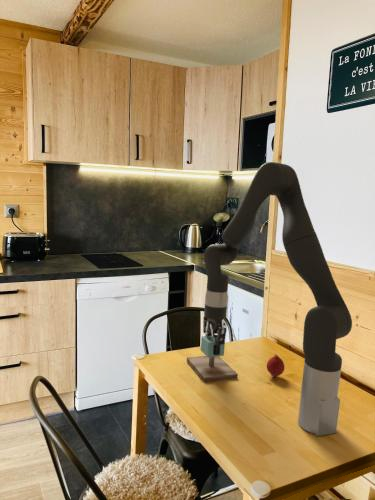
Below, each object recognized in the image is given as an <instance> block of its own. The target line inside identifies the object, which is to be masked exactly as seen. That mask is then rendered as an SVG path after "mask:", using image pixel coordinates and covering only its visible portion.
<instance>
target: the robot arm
mask: <svg viewBox="0 0 375 500" xmlns="http://www.w3.org/2000/svg"><path fill="white" fill-rule="evenodd" d="M270 196H274V197H276V198H277V201H278V203H279V206H280V208H281V210H282V215H283V225H282V233H281V234H282V240H281V241H282V244H283V248H284V250H285V254H286V256H287V258H288V262H289V264H290V265H291V267H292V268H293V269H294V271H295V272H296V274H298V276H299V277H300V278H301V279H302V280H303V281H304V282H305V283H306V285H307V286H308V288H309V289H310V291H311V294H312V295H313V298H314V300H315V303H316V306H314V307H312V308H311V309H309V310H308V312H307V313H306V315H305V318H304V322H303V335H302V336H303V339H302V351H303V355H304V361H303V362H304V363H303V370H302V371H303V372H302V378H301V379H302V380H301V390H300V399H299V400H300V401H299V407H298V409H299V410H298V418H297V423H298V425H299V426H300V428H302V429H303V430H305V431H306V432H308V433H311V434H314V436H316V437H321V436H325V435H330V434H331V435H332V434H336V433H337V429H338V420H339V412H340V407H341V406H340V404H341V399H340V398H339V390H340V389H339V388H340V379H341V371H342V364H343V358H342V356H341V354H339V353H337V352H336V348H337V346H336V345H337V340H338V339H341V338H344V337H347V336H348V334H350V332H351V331H352V328H353V319H352V316H351V313H350V311H349V309H348V307H347V304H346V302H345V300H344V298H343V297H342V295H341V293H340V290H339V288H338V286H337V284H336V282H335V280H334V277H333V275H332V272H331V270H330V267H329V264H328V262H327V259H326V257H325V254H324V251H323V248H322V246H321V242H320V240H319V237H318V235H317V233H316V231H315V229H314V225H313V223H312V220H311V217H310V215H309V214H310V213H309V211H308V209H307V207H306V204H305V201H304V197H303V193H302V189H301V185H300V181H299V177H298V175H297V173H296V171H295V169H294V168H293V167H292V166H291V165H289V164H285V163H280V162H274V161H268V162H265V163H262V165H261V166H260V167H258V170H257V171H256V172H255V175H254V176H253V178H252V180H251V183H250V184H249V187H248V189H247V191H246V193H245V195H244V197H243V200H242V201H241V204H240V205H239V206H238V209H237V210H236V213H235V214H234V216H232V217H233V218H231V220H229V221H230V222H229V223H228V224H227V225H226V227H225V229H224V230H223V232H222V233H221V239H222V241H223V243H219V244H217V243H215V244H211V245H209V246H207V248H206V249H205V251H204V253H203V254H204V255H203V260H204V265H205V272H206V275H207V277H206V278H207V280H206V281H207V282H206V292H205V298H204V310H203V315H204V316H203V321H202V324H203V326H202V327H203V328H202V332H203V334H204V336H212V337H213V340H214V348H213V354H214V355H219V354H220V345H222V344H224V343H225V344H226V336H227V335H226V334H227V327H223V320H224V319H226V318H227V313H228V311H227V310H228V301H229V300H228V298H229V295H228V290H229V289H228V288H229V275H228V274H227V273H226V272H224V271H223V272H222V268H221V267H222V266H228V265H230V264H232V263H233V262H234V261H235V260H236V258H237V256H238V254H239V251H240V249H241V246H242V244H243V243H244V241H245V240H246V239H247V237H248V236H249V235H250V233H251V232H252V230H253V228H254V226H255V223H256V219H257V214H258V211H259V209H260V207H261V205H262V204H263V203H264V202H265V200H267V198H269V197H270ZM216 337H217V340H216Z"/></svg>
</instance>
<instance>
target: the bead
mask: <svg viewBox="0 0 375 500" xmlns="http://www.w3.org/2000/svg"><path fill="white" fill-rule="evenodd" d="M211 338H213V337H212V336H205V335H204V336H202V335H201V340H200V352H202V354H204V356H207V357H216V356H220V357H223V356H225V349H226V348H225V345H226V342H225V343H224V344H222V345H220V354H219V355H214V354H213V348H214V341H211ZM216 340H217V337H216Z"/></svg>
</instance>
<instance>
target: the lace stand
mask: <svg viewBox="0 0 375 500" xmlns="http://www.w3.org/2000/svg"><path fill="white" fill-rule="evenodd" d="M211 341H214V340H213V338H211ZM186 362H187V364H188V365H189V366H190V367H191V369H192V370H193V371H194V372H195V373H196V375H197V376H198V377H199V378H200V379H201V380H202V382H204V383H207V382H208V383H210V382H216V381H225V380H233V379H238V375H239V374H238V373H237V372H236V370H235V369H233V368H232V367H231V366H230V365H229V364H228V363H227V362H226V361H225V360H224V359H222V356H216V357H207V356H206V355H202V356H201V355H199V356H191V357H190V356H189V357H186Z"/></svg>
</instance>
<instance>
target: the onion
mask: <svg viewBox="0 0 375 500" xmlns="http://www.w3.org/2000/svg"><path fill="white" fill-rule="evenodd" d="M266 369H267V372H269V374H270V375H271V376H272V377H273V378H276V377H279V376H281V375H282V374H283V373H284V372H285V363H284V360H283V359H282V358H280V357H279V355H278V354H277V353H274V356H272V357H270V358H269V359H268V361H267V363H266Z"/></svg>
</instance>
